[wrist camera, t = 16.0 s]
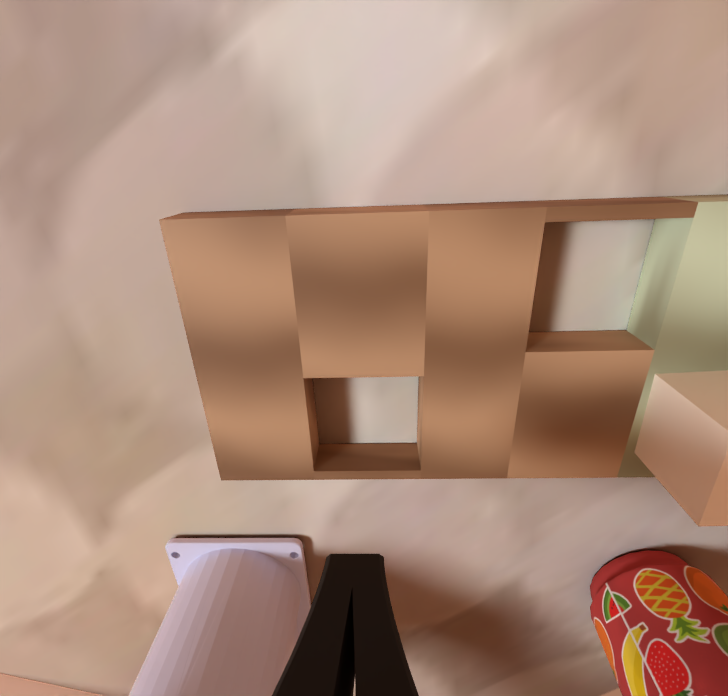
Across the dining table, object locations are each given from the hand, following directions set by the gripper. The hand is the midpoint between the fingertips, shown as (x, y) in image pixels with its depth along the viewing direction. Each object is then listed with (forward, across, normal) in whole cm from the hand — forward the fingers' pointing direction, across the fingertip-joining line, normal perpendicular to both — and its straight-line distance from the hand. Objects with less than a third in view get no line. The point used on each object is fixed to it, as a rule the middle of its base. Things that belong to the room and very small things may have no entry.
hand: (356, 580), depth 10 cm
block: (+8, -14, 0) cm, 16 cm away
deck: (+10, -5, -2) cm, 11 cm away
